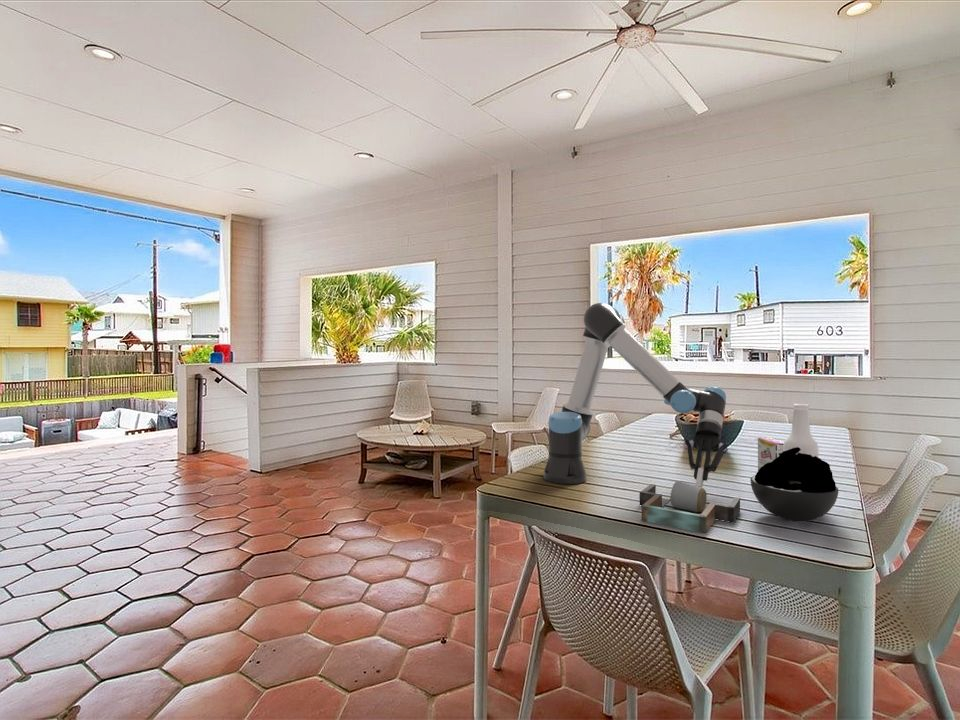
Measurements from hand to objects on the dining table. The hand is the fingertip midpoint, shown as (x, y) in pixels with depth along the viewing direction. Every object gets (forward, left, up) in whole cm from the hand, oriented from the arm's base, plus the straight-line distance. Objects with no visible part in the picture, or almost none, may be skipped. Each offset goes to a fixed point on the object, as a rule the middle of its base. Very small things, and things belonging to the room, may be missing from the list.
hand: (698, 488), depth 150 cm
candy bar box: (+18, +27, -4) cm, 32 cm away
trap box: (0, -17, -4) cm, 17 cm away
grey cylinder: (0, -10, -4) cm, 11 cm away
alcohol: (+26, +13, -4) cm, 29 cm away
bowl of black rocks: (+25, -4, -4) cm, 25 cm away
